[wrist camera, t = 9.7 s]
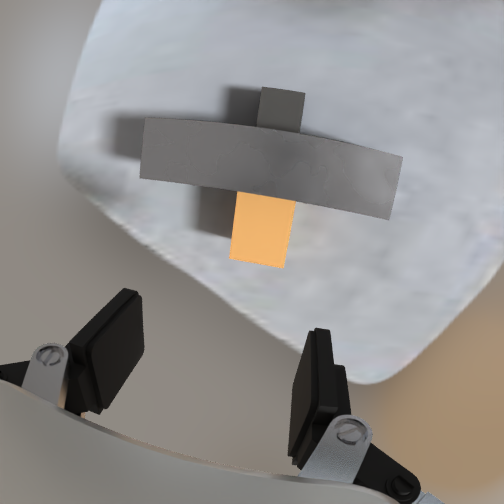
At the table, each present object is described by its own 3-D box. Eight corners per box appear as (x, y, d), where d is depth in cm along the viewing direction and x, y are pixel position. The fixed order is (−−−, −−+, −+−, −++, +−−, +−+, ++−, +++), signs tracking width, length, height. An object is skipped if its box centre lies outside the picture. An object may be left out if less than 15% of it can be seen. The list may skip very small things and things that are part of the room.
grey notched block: (180, 120, 24) (145, 117, 18) (377, 151, 23) (402, 156, 17) (175, 167, 25) (139, 178, 19) (367, 199, 24) (389, 220, 18)
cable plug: (259, 91, 22) (252, 83, 19) (310, 99, 22) (313, 92, 18) (238, 241, 27) (229, 258, 23) (285, 249, 27) (283, 268, 23)
